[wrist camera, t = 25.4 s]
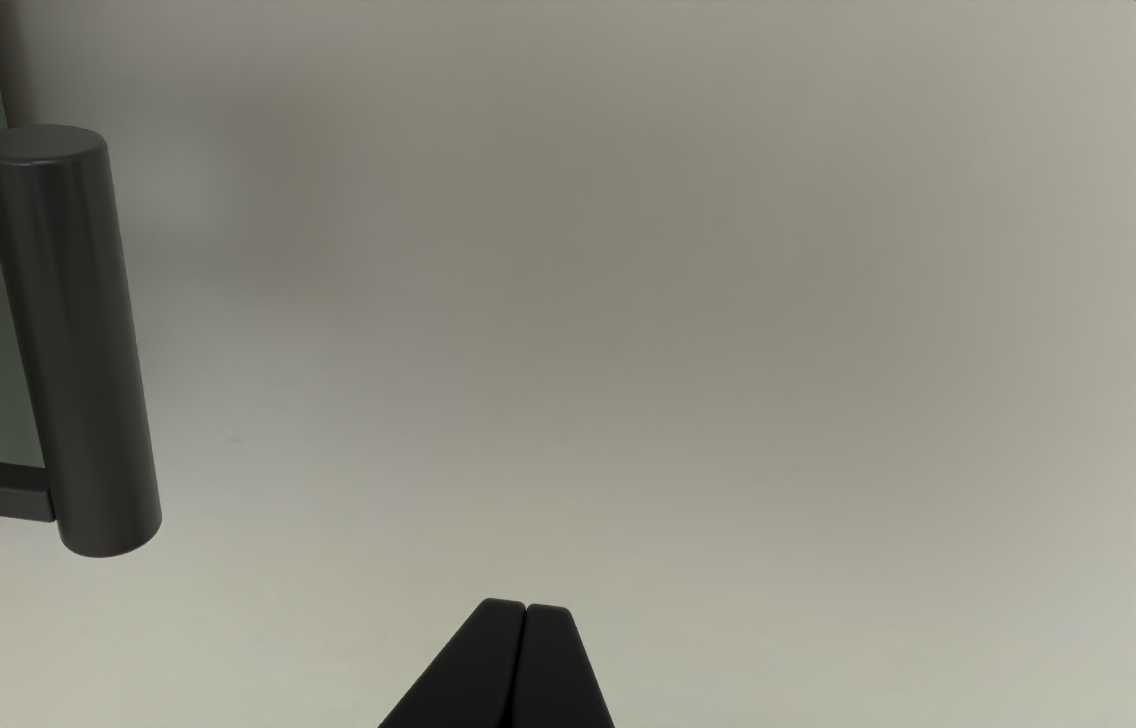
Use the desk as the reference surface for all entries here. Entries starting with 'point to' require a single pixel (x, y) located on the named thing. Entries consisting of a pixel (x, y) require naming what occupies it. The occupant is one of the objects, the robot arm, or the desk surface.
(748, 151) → the desk surface
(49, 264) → the drawer
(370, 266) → the desk surface
